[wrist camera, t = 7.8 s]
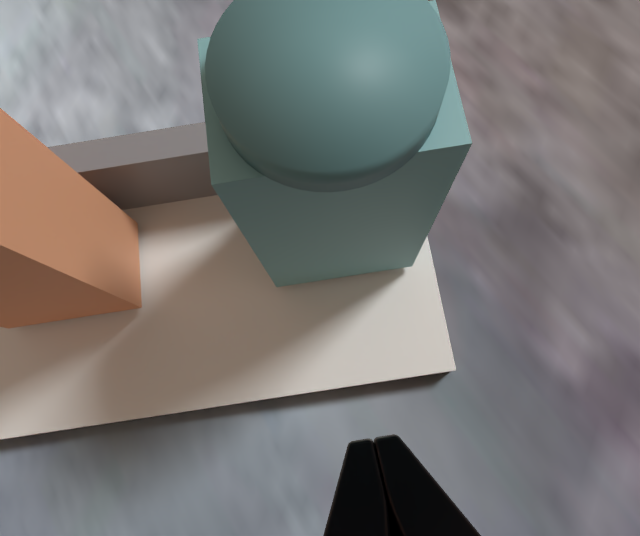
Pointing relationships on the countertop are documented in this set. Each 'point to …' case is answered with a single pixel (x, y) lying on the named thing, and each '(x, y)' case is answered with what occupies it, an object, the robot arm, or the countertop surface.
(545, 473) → the countertop surface
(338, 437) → the countertop surface
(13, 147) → the orange domed block
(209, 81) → the button teal
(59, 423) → the button console
